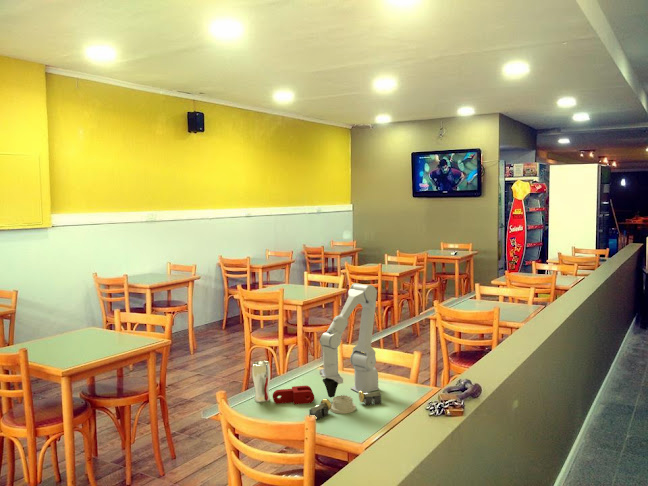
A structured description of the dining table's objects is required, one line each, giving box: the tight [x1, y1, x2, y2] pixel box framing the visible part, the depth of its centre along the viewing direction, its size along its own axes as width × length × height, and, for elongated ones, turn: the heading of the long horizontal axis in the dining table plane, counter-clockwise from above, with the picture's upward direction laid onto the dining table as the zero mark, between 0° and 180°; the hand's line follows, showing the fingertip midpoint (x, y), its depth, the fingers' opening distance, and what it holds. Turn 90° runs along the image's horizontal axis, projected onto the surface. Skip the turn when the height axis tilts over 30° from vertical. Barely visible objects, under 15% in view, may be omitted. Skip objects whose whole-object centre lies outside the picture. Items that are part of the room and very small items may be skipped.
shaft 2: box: [358, 391, 382, 406], centre depth 227 cm, size 8×4×5 cm, turn 101°
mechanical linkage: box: [272, 385, 315, 406], centre depth 231 cm, size 16×7×5 cm, turn 100°
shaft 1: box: [308, 398, 332, 421], centre depth 215 cm, size 8×4×5 cm, turn 141°
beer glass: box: [252, 360, 271, 403], centre depth 233 cm, size 7×7×15 cm
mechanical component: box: [329, 394, 357, 415], centre depth 222 cm, size 10×4×10 cm
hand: (331, 396), depth 230 cm, fingers closed
